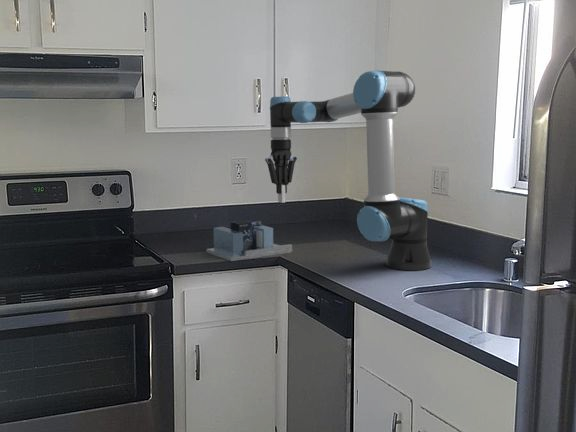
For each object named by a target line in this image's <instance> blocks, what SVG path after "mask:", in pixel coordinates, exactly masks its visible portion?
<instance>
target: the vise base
mask: <svg viewBox="0 0 576 432" xmlns="http://www.w3.org/2000/svg"><path fill="white" fill-rule="evenodd" d="M206 253H207V254H210V255H213V256H216V257H219V258H222V259H224V260H227V261H230V262H234V261H242V260H248V259H256V258H262V257H268V256H269V257H270V256H276V255H284V254H290V253H293V244H291V243H290V244H283V245H280V244H276V243H273V247H266V248H259V249H252V250H244V251H243V232H239V231H236V230H233V229H231V228H229V227H225V226H217V227H213V247H212V248H206Z"/></svg>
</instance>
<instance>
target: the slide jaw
mask: <svg viewBox="0 0 576 432" xmlns="http://www.w3.org/2000/svg"><path fill="white" fill-rule="evenodd" d="M254 222H256V249H259V248H266V247H273V244H274V228H273V227H271V226H267V225H263V224H262V221H261V220H256V221H255V220H254Z"/></svg>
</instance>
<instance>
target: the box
mask: <svg viewBox="0 0 576 432" xmlns="http://www.w3.org/2000/svg"><path fill="white" fill-rule="evenodd" d="M230 229H233V230H236V231H239V232H243V251H244V250H252V249H256V222H255V220H254V221H253V220H250V219H246V220H244V219H243V220H236V221H235V220H234V221H230Z"/></svg>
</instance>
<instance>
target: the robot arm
mask: <svg viewBox="0 0 576 432" xmlns="http://www.w3.org/2000/svg"><path fill="white" fill-rule="evenodd" d="M415 94H416V85H415V82H414V80H413V78H412V77H411V76H410V75H408V74H407V73H404V72H402V71H392V70H390V71H389V70H369V71H366V72H364V73H362V74H360V76H358V79H356V81H355V83H354V85H353V90H352V92H351V93H347V94H344V95H341V96H337V97H334V98H333V97H332V98H330V99H326V100H323V101H322V100H321V101H307V100H305V101H303V100H301V101H291V97H290V96H272V97H271V98H270V101H269V120H270V138H271V139H270V150H271V152H270V156H268V157H267V158H265V159H264V161H265V162H266V165H267V169H268V172H269V173H268V174H269V177H270V181H271V183H272V184H274V185H276V189H275V190H276V194H277V201H278V203H282V204H285V203H286V194H288V193H287V192H288V185H289V183H292V180H293V175H294V168H295V164H296V162H297V159H298V158H297V157H296V156H294V155H292V151H291V149H292V140H291V139H290V138H291V137H292V127H291V126H292V123H295V124H296V123H297V124H308V123H331V122H336V121H338V119H342V118H346V117H350V116H354V115H357V114H361V116H362V117H363V118H364V120H365V121H366V122H365V124H366V126H365V127H366V130H365V131H366V158H367V159H366V160H367V163H366V164H367V187H368V188H367V193H368V194H367V195H366V196H365V198H364V199H363V207H362V208H360V210H359V212H358V213H357V217H356V224H357V228H358V230H359V232H360V234H361V235H363V237H364V238H365V239H366V240H367V241H371V242H385V241H388V240H389V241H390V240H391V244H390V246H389V247H390V248H389V251H388V255H387V256H386V260H385V266H387V268H391V269H394V270H402V271H422V270H427V269H431V267H432V259H431V257H430V252H429V248H428V244H427V243H428V242H427V240H428V238H427V237H428V214H429V209H428V206H429V205H428V202H427V201H426V200H425V199H424V200H423V199H418V198H411V197H402V196H401V197H400V196H398V195H397V194H396V182H395V181H396V180H395V179H396V178H395V142H394V141H395V139H394V138H395V137H394V136H395V135H394V118H395V117H396V116H397V115H398V113H399V108H402V107H403V108H404V107H406V106H407V105H409V104H411V102H412V101H413V99H414V97H415Z"/></svg>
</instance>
